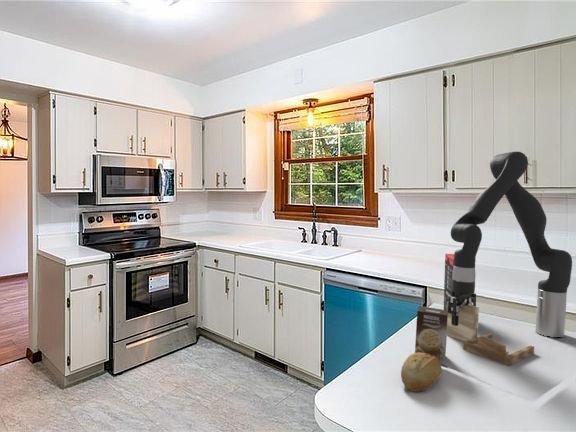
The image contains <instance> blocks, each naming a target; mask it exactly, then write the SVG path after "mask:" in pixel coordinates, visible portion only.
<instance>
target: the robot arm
mask: <svg viewBox="0 0 576 432" xmlns="http://www.w3.org/2000/svg"><path fill="white" fill-rule="evenodd" d="M528 166H529V160H528V157H527V156H526V154H525V153H523V152H522V151H510V152H504V153H500V154H499V153H498V154H496V155H494V156H493V157H492V158H491V159H490V162H489V168H490V172H491V174H492V175H493V178H494V179H495V180H494V181H493V182H492V183H491V184H490V185H489V186H487V187H486V188H485V189H484V190H483V191H482V192H480V193H479V194H478V195H477V197H476V198H475V199H474V201H473V202H472V203H471V205H470V207H469V208H468V210H467V211H466V212H465V213H464V214H463V215H462V216H461V217H459V218H458V219H457V220H456V221H455V222H454V224H453V225H452V227H451V230H450V237H451V239H452V241H455V242H456V243H462V244H463V245H462V248H461V249H456V250H455V251H454V253H453V254H454V267H453V273H452V291H454V292H455V296H454V297H449V301H448V313H450V314H451V315H452V321H451V324H452V325H454V326H458V321H459V316H458V315H459V313H460V311H462V309H463V307H464V306H465V305H471V306H475V307H477V293H475V292H476V275H477V274H476V258H477V253H478V251H479V248H480V245H481V242H482V239H483V235H482V234H483V232H482V229H481V228H480V226H478V225H483V224H485V223H486V222H487V221H488V219H489V217H490V216H491V214H492V213H493V212H494V210H495V208H496V206H497V205H498V204H499V202H500V201H501V199H502V198H503V197H504V196H505V198H506V200H507V201H508V203H509V204H508V205H510V208H511V210H512V212H513V214H514V216H515V219H516V220H517V223H518V225H519V226H520V229H521V230H522V233H523V236H524V238H525V240H526V242H527V244H528V245H527V246H528V247H529V251H530V254H531V257H532V259H533V262H534V265H535V266H536V267H537V268H538V269H539V270H541V271H543V272H547V273H548V278H547V279H545V280H544V279H543V280H540V281H538V283H537V294H536V295H537V299H536V314H535V315H536V317H535V332H536V334H537V335H540V334H541V336H543V335H544V337H547V336H550V337H549V338H553V337H563V336H564V337H565V329H566V312H567V295H568V294H567V293H568V288H569V286H570V285H571V284H570V283H571V277H572V271H573V259H572V255H571V254H570V252H568V251H567V250H562V249H559V248H557V249H556V248H551V247H550V245H549V244H548V242H547V239H546V235H545V231H546V227H547V219H548V218H547V216H546V213H545V211H544V208H543V206H542V203H541V202H540V201H539V200H538V199H537V198H536V197H535V196H534V195H533V194H532V193H530V192H529V191H528V190H527V189H525V188H524V187H523V186H522V185H521V184H520V182H519V179H520V178H521V177H522V176H523V175H524V174H525V172H526V170H527V168H528ZM457 306H458V307H457ZM451 307H452V310H451ZM456 309H457V312H456ZM564 337H563V338H564Z"/></svg>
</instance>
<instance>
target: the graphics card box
mask: <svg viewBox="0 0 576 432" xmlns="http://www.w3.org/2000/svg"><path fill="white" fill-rule="evenodd" d="M444 257H445V258H444V283H443V284H444V285H443V286H444V287H443V288H444V289H443V310H447V302H448V301H449V297H454V296H455V292H454V291H452V273H453V267H454V253H445V255H444Z"/></svg>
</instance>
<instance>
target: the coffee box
mask: <svg viewBox="0 0 576 432" xmlns="http://www.w3.org/2000/svg"><path fill="white" fill-rule="evenodd" d="M416 312H417V313H416V326H415V328H416V329H415V347H414V353H417V352H421V353H427V354H429V355H431V356H432V355H434V356H435V357H437V358H438V360H439V362H440V365H441V367H445V364H446V354H447V353H446V351H447V340H448V339H447V337H448V335H447V322H448V310H444V309H442V308H434V307H430V306H429V307H428V306H424V305H423V306H422V305H418V307H417V311H416Z"/></svg>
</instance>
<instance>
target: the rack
mask: <svg viewBox="0 0 576 432" xmlns="http://www.w3.org/2000/svg"><path fill="white" fill-rule="evenodd" d="M478 337H488V338H490V339H492V340H494V333H491V332H490V333H486V334H483V335H481V336H477V338H475V339H472V340H469V341H463V342H462V343H463V344H462V349H463V351H466V352H469V353H472V354H475V355H477V356H481V357H483V358H485V359H488V360H491V361H494V362H497V363H499V364H502V365H504V366H507V367H510V366H511V365H513V364H516V363H517V362H519V361H521V360H524V359H526V358H528V357H530V356H533V355H534V354H535V346H533V345H528V346H526V347H524V348H521V349H520V350H517V351H515V352H513V353H512V352H511V353H510V354H508V355H507V356H506V355H503V354H500V353H496V352H494V351H491V350H488V349H485V348H482V347H479V346H477V345H474V344H476V343H478Z"/></svg>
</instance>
